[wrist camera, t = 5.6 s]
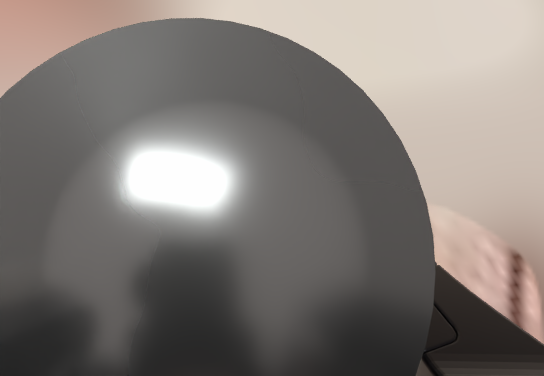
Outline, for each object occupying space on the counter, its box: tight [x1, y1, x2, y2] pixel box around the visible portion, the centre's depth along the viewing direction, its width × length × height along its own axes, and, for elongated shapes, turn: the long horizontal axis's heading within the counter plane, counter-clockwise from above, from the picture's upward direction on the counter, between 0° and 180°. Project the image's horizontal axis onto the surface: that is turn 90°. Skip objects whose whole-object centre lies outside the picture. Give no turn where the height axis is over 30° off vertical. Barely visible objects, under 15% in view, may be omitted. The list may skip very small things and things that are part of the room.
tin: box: [0, 18, 435, 376], centre depth 9 cm, size 4×4×12 cm
